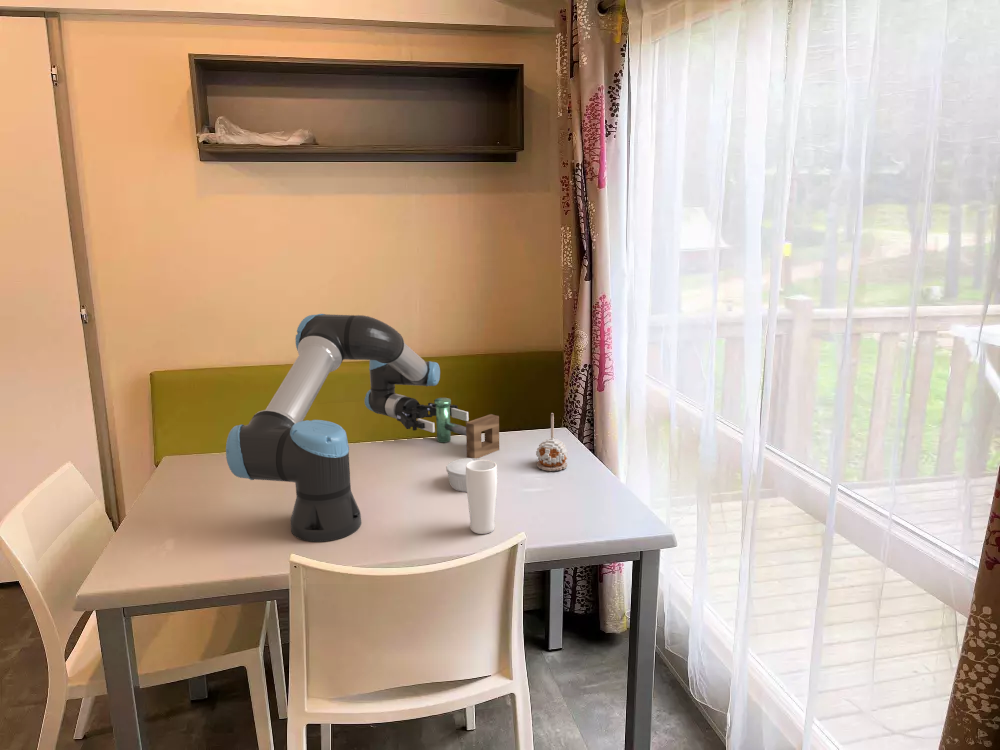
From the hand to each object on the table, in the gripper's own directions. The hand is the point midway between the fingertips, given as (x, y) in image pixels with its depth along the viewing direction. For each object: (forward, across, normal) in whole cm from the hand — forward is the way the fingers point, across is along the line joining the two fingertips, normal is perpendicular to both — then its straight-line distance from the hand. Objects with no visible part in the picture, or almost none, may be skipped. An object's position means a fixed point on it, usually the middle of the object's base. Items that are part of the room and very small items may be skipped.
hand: (451, 422), depth 212 cm
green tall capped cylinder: (+2, 0, -6) cm, 6 cm away
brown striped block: (+13, 0, -6) cm, 14 cm away
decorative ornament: (+34, -4, -7) cm, 35 cm away
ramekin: (+26, +18, -7) cm, 32 cm away
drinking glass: (+45, +34, -7) cm, 57 cm away
